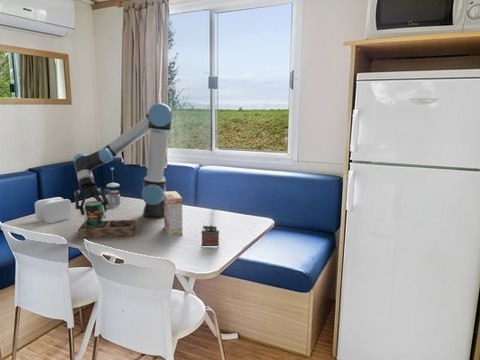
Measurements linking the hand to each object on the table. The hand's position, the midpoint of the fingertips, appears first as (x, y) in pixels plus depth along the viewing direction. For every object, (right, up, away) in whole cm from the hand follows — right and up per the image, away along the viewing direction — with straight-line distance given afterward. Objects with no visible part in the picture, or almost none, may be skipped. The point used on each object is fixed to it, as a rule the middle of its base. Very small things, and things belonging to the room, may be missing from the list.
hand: (95, 218), depth 174 cm
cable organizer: (-33, -4, +24) cm, 41 cm away
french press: (-10, +2, +53) cm, 54 cm away
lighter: (+57, -12, -9) cm, 59 cm away
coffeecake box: (+36, -8, +10) cm, 38 cm away
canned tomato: (-2, -3, +4) cm, 5 cm away
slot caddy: (+4, -8, +5) cm, 10 cm away
